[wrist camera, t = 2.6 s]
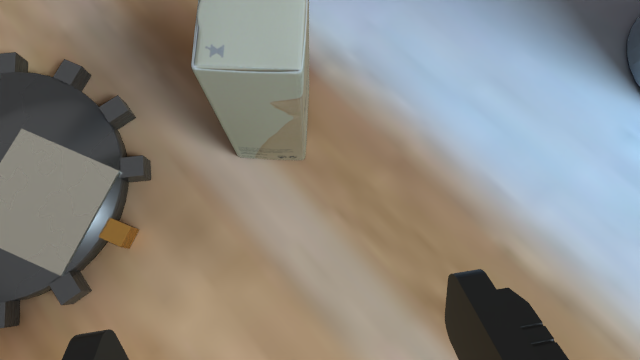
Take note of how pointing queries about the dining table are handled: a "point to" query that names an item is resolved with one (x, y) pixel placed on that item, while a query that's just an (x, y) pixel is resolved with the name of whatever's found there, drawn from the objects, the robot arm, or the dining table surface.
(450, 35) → the dining table surface
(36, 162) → the sprocket
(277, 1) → the box
